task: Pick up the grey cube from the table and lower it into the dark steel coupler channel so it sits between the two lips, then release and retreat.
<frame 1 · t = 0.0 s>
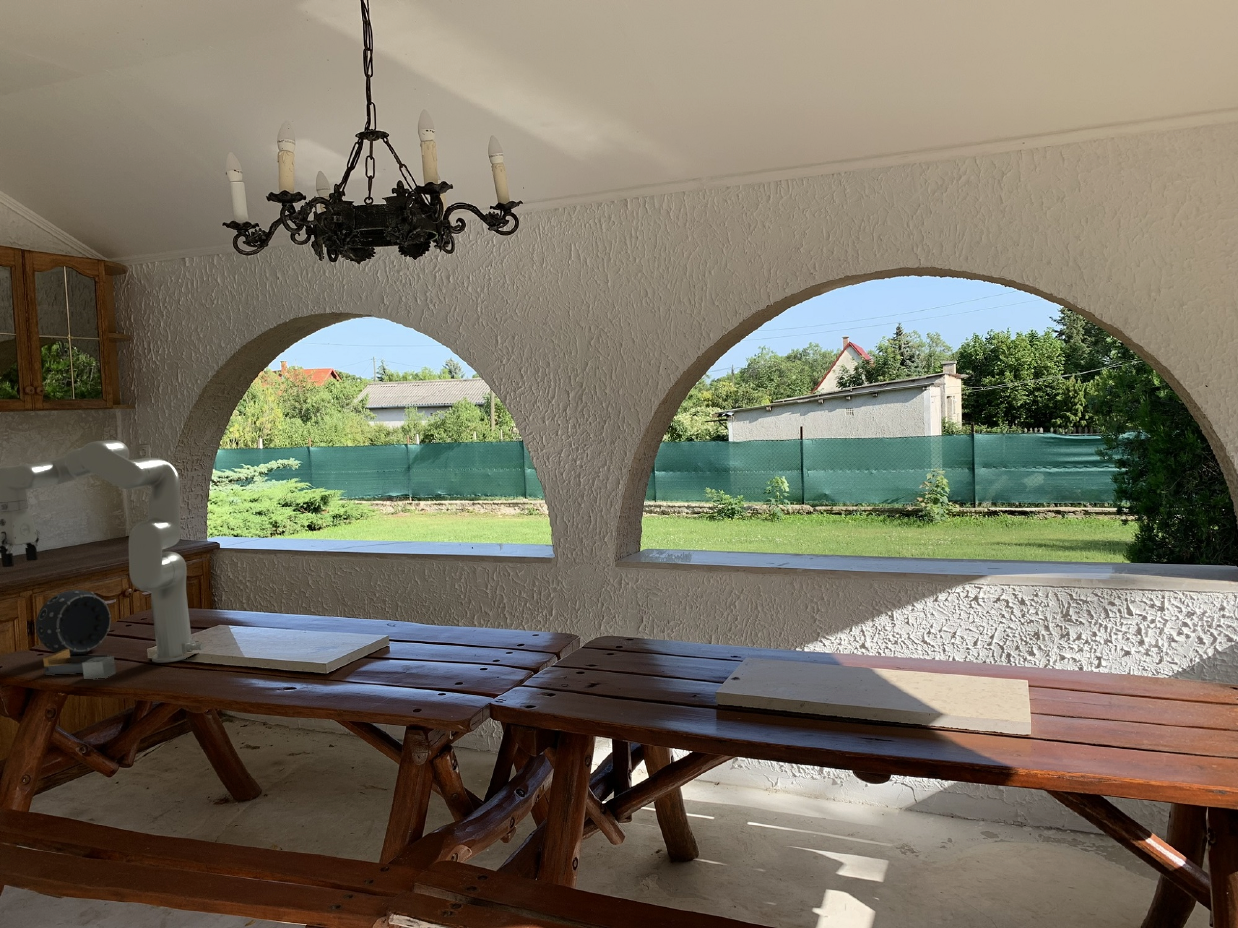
hand: (20, 563, 269), 31 cm above the table, tool pointing down, fingers open, 9 cm apart
grey cube: (100, 676, 254), on the table
dark grey studded drum: (78, 654, 281), on the table
coupler bracket: (78, 669, 262), on the table
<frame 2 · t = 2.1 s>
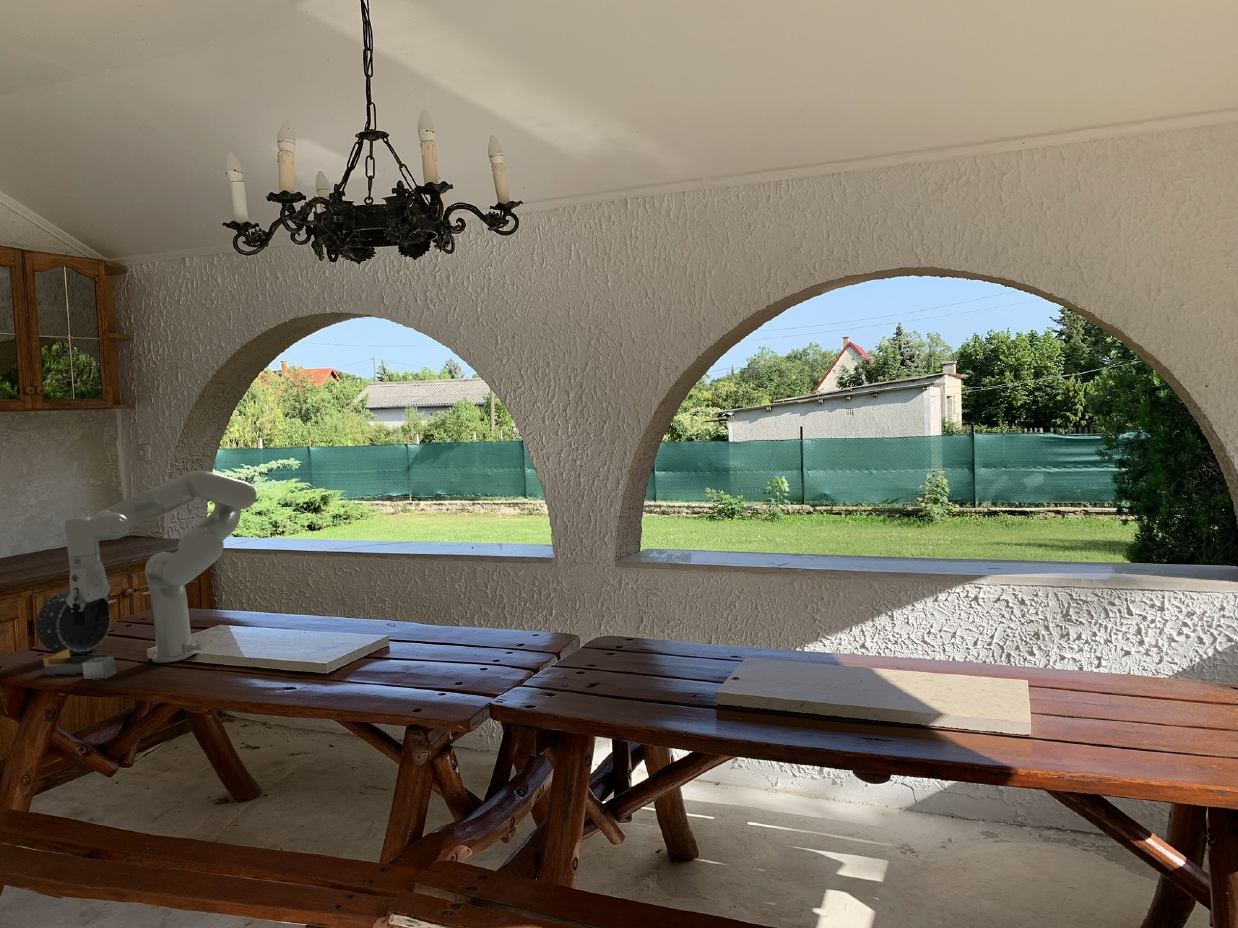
hand: (92, 620, 252), 16 cm above the table, tool pointing down, fingers open, 9 cm apart
nothing on the table moved.
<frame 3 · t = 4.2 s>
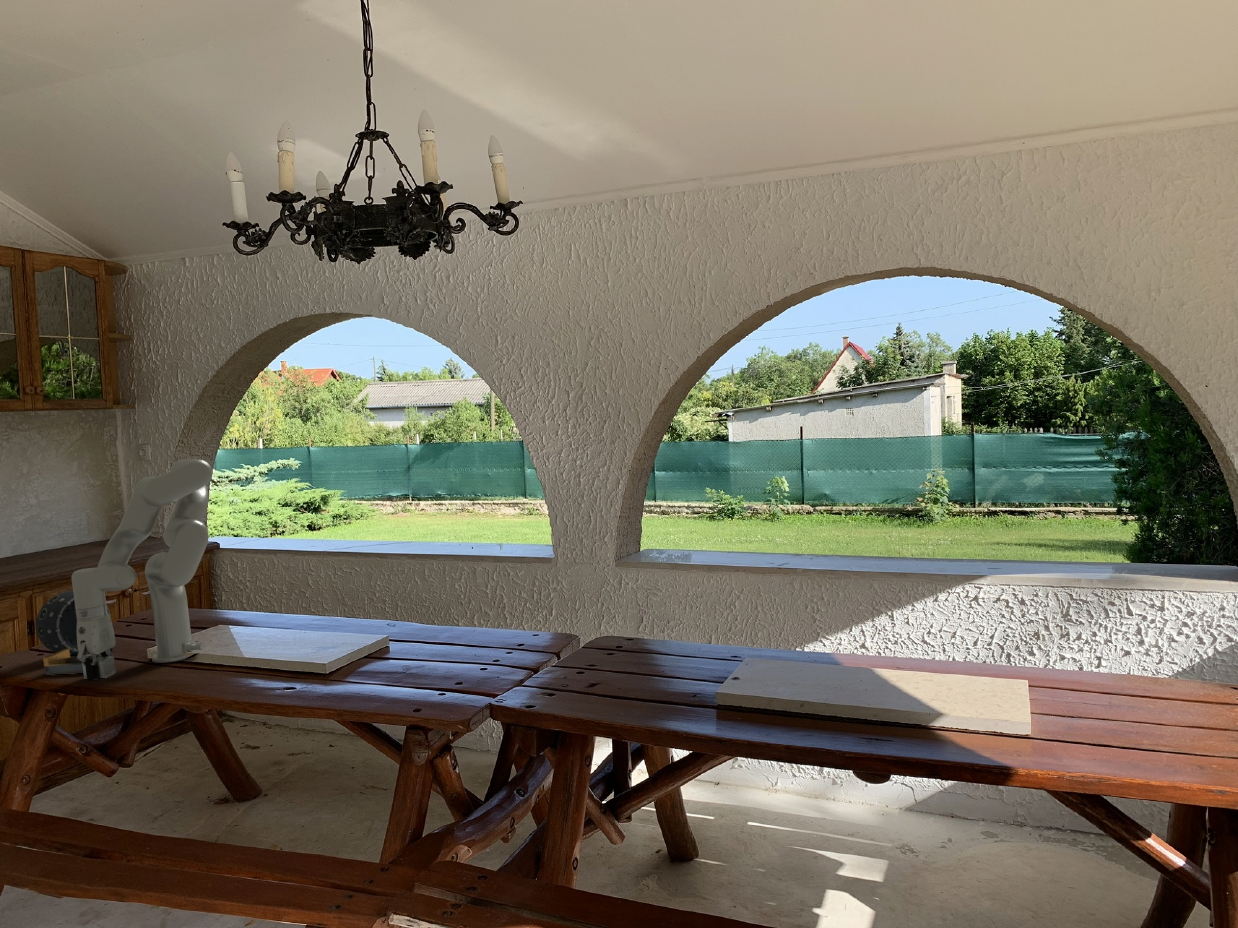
hand: (99, 674, 254), 0 cm above the table, tool pointing down, fingers closed on grey cube, 5 cm apart
grey cube: (100, 676, 254), on the table, touching gripper
everything else where it was.
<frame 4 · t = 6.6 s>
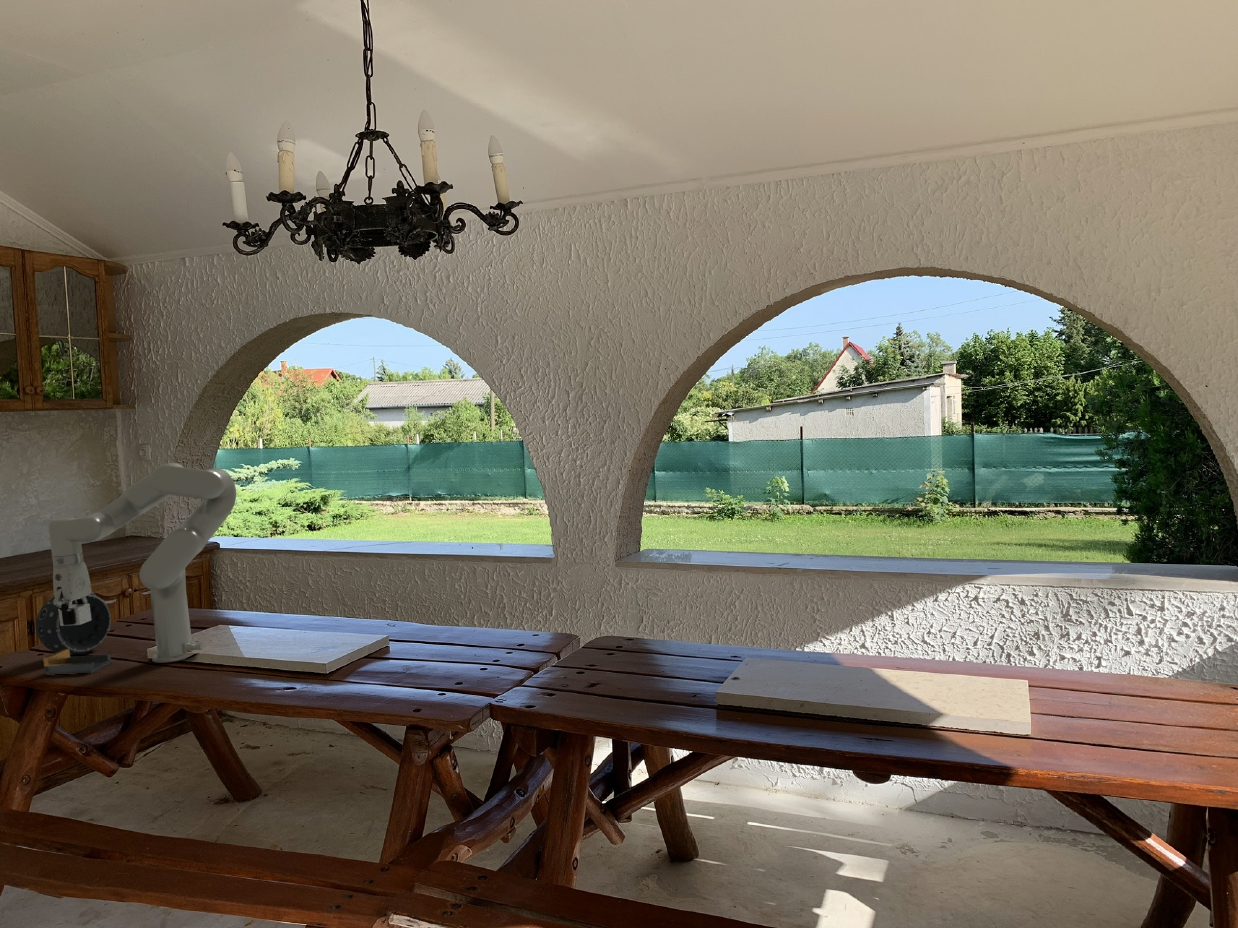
hand: (75, 621, 261), 14 cm above the table, tool pointing down, fingers closed on grey cube, 5 cm apart
grey cube: (76, 622, 261), point 14 cm above the table, touching gripper
everything else where it was.
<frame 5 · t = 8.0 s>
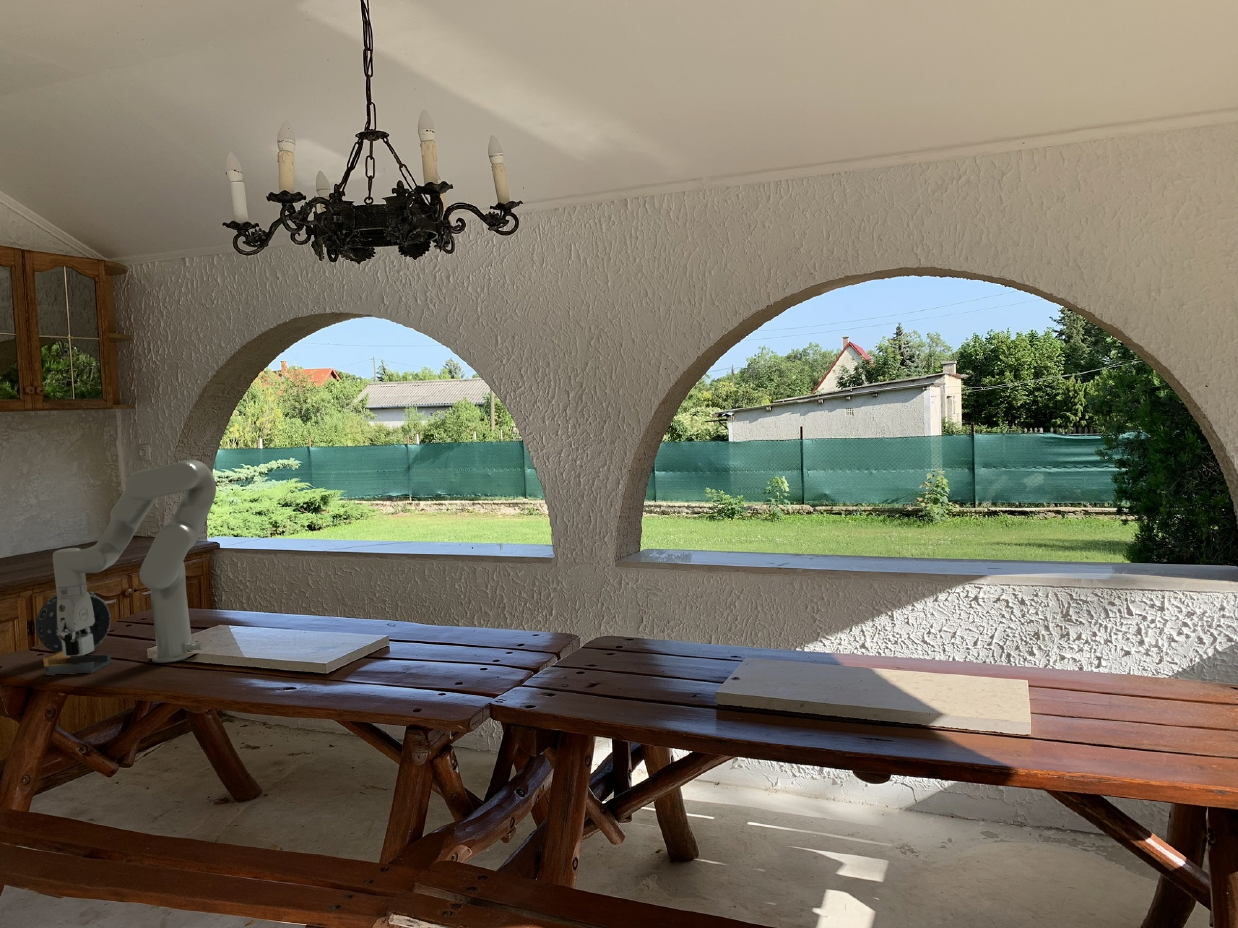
hand: (78, 651, 262), 5 cm above the table, tool pointing down, fingers closed on grey cube, 5 cm apart
grey cube: (79, 653, 262), point 5 cm above the table, touching gripper
everything else where it was.
when the fingers open (3 cm above the table, at t = 9.2 s): grey cube drops 2 cm, resting on coupler bracket.
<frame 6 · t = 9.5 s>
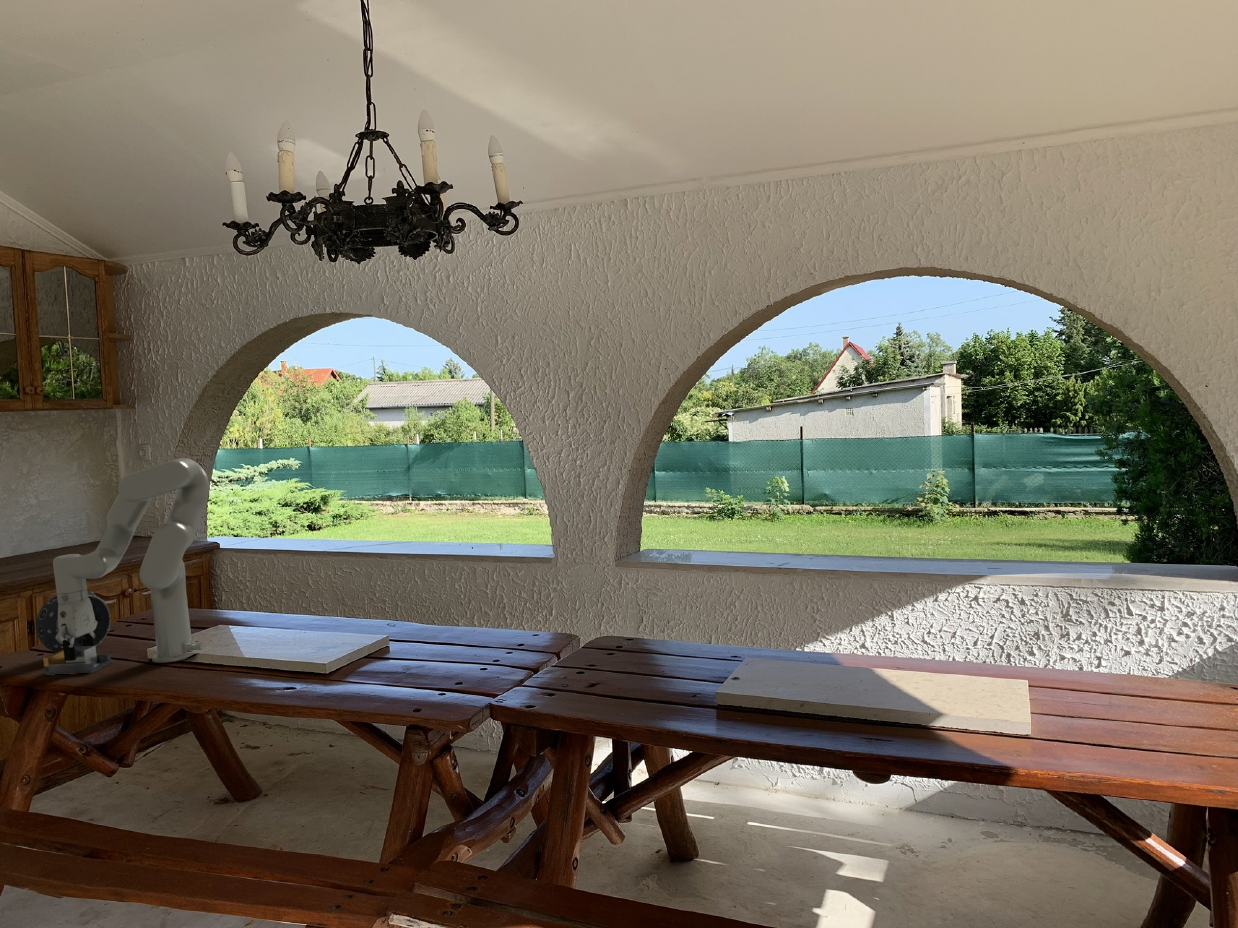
hand: (80, 655, 262), 4 cm above the table, tool pointing down, fingers open, 7 cm apart
grey cube: (82, 665, 262), point 1 cm above the table, touching coupler bracket
everything else where it was.
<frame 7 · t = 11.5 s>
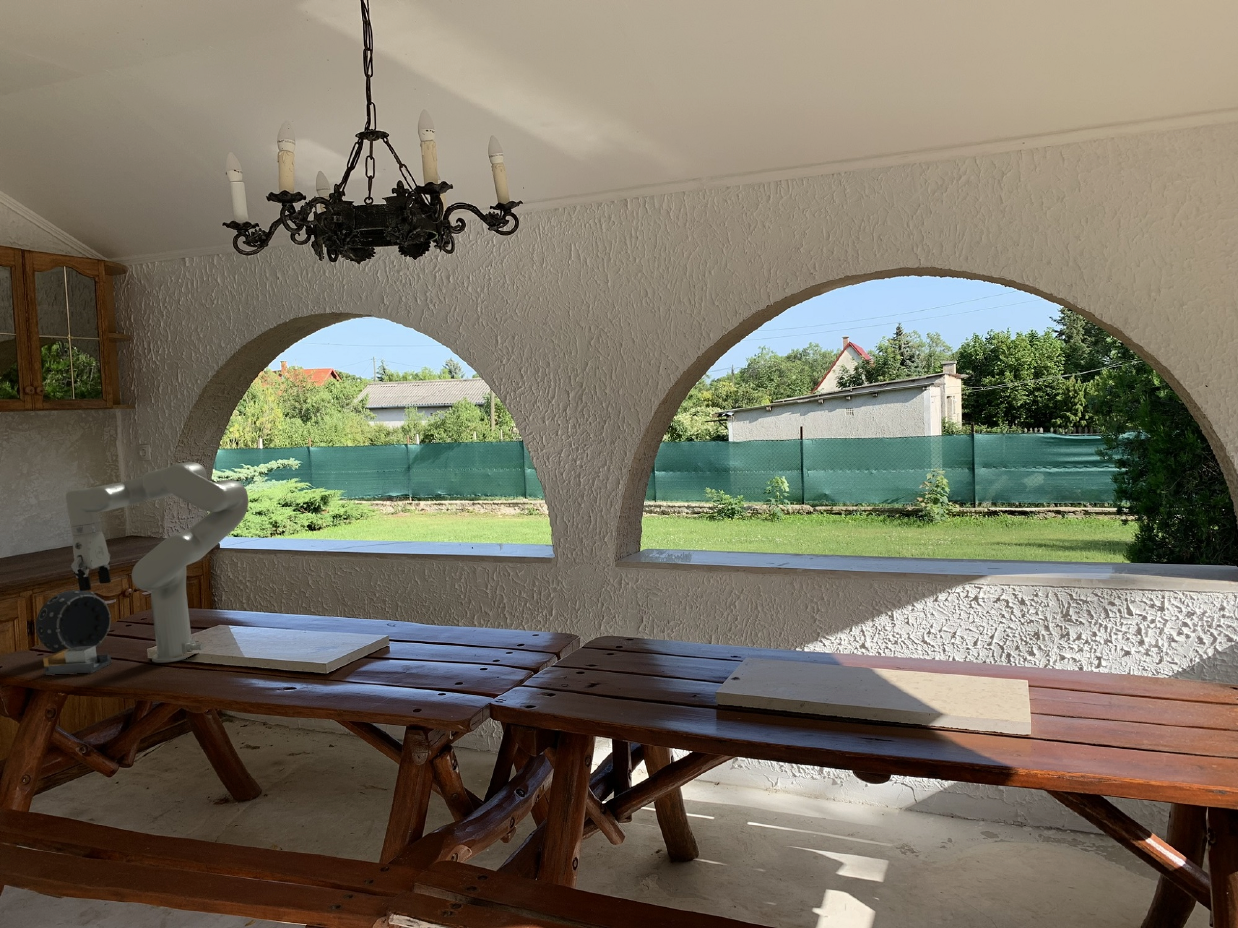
hand: (95, 586, 267), 23 cm above the table, tool pointing down, fingers open, 9 cm apart
nothing on the table moved.
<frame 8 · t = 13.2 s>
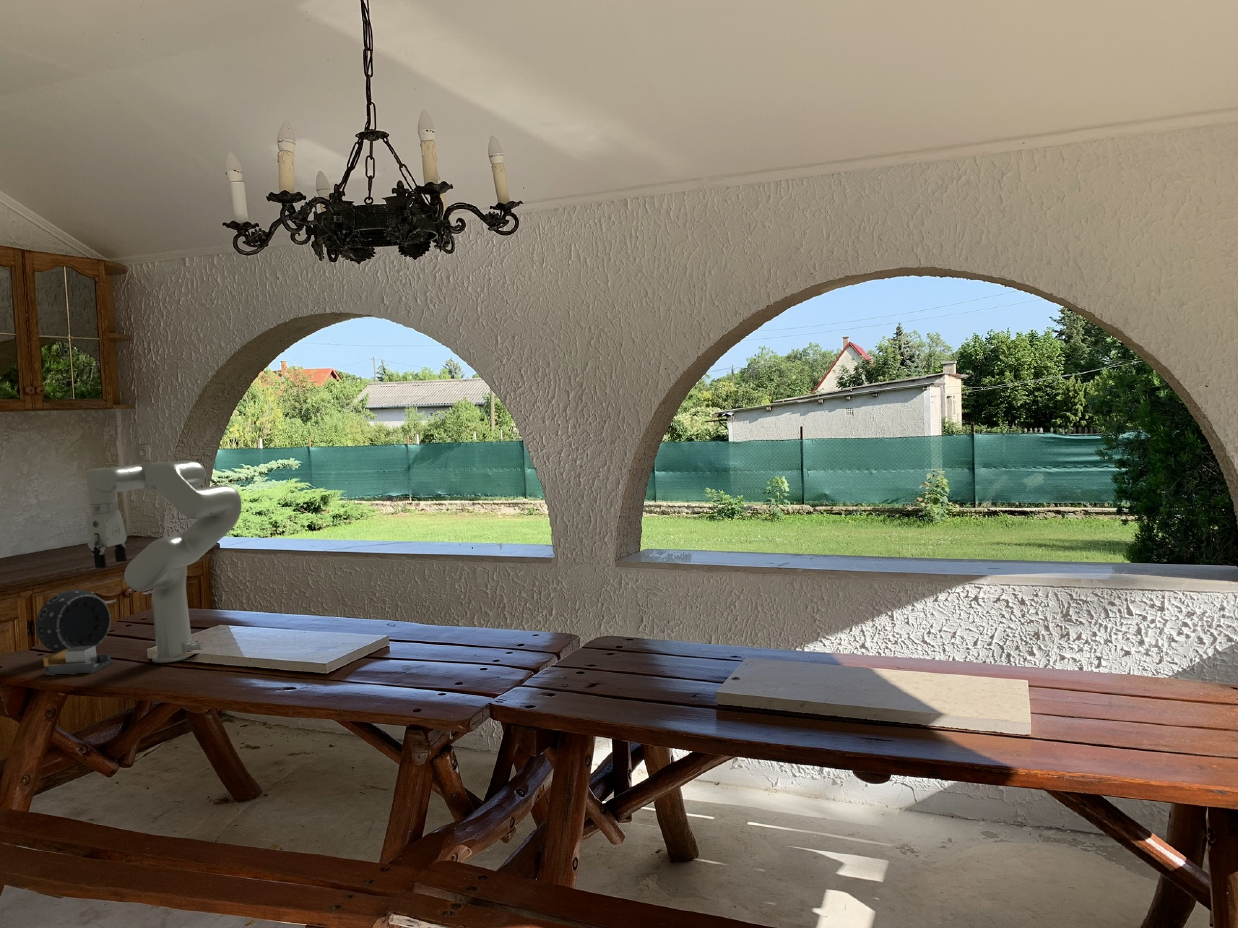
hand: (111, 564, 273), 28 cm above the table, tool pointing down, fingers open, 9 cm apart
nothing on the table moved.
at the end: grey cube inside the target area on the coupler bracket (0.4 cm from its centre), point 1.2 cm above the coupler bracket's base; grey cube tilted 0°; the gripper is holding nothing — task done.
